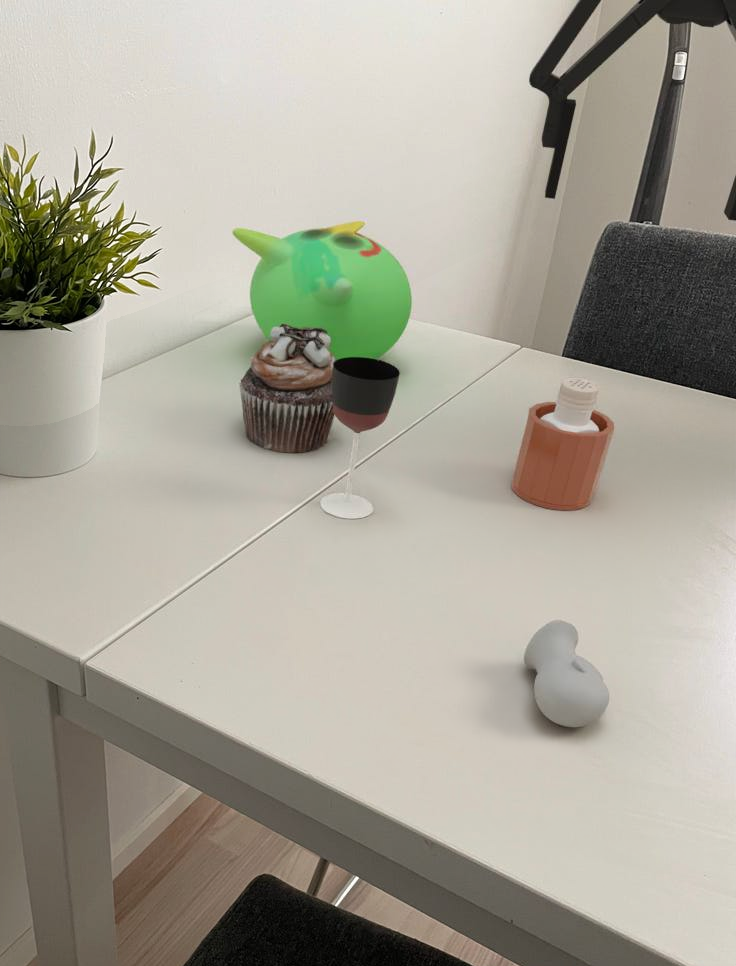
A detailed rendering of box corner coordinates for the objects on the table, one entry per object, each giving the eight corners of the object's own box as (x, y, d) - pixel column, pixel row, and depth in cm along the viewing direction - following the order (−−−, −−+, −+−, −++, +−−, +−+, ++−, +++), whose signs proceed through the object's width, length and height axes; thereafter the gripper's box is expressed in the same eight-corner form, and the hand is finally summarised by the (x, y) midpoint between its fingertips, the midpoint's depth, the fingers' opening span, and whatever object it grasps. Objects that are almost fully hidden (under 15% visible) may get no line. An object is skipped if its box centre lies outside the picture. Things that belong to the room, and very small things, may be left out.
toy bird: (427, 368, 113) (452, 232, 104) (337, 404, 102) (356, 256, 94) (304, 325, 122) (318, 197, 114) (209, 354, 111) (217, 215, 103)
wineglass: (324, 487, 87) (342, 352, 80) (383, 500, 86) (405, 365, 79) (308, 510, 83) (325, 371, 76) (369, 525, 82) (392, 384, 75)
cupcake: (232, 412, 98) (239, 311, 93) (328, 416, 100) (341, 316, 94) (239, 455, 91) (247, 347, 85) (344, 458, 92) (359, 352, 86)
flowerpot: (591, 481, 92) (612, 409, 88) (592, 516, 86) (616, 441, 82) (512, 467, 93) (530, 396, 89) (509, 501, 87) (527, 426, 83)
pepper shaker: (556, 473, 92) (583, 373, 86) (584, 493, 89) (615, 391, 83) (521, 479, 90) (546, 377, 85) (548, 499, 87) (577, 395, 82)
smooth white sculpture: (594, 756, 62) (522, 727, 61) (575, 676, 69) (509, 650, 68) (635, 709, 60) (560, 678, 59) (612, 631, 66) (543, 602, 65)
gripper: (538, -161, 64) (474, 195, 76) (961, -134, 60) (820, 237, 72) (539, -152, 70) (479, 177, 82) (923, -126, 66) (800, 215, 78)
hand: (639, 206), depth 77 cm, fingers open, 13 cm apart
